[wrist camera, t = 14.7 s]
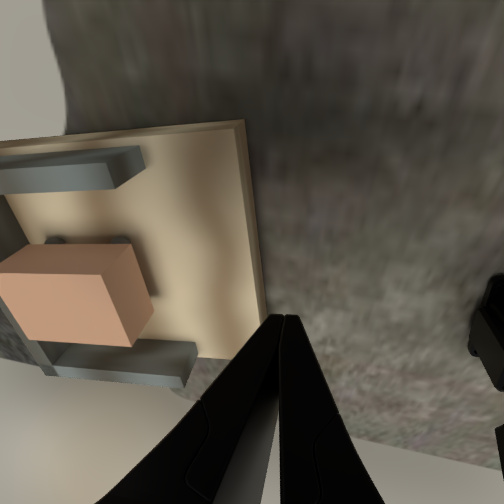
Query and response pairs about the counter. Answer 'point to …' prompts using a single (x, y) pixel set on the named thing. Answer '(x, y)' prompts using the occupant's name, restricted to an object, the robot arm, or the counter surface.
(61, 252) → the tan cardboard-like brick
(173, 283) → the dock
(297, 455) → the robot arm
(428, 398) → the counter surface
